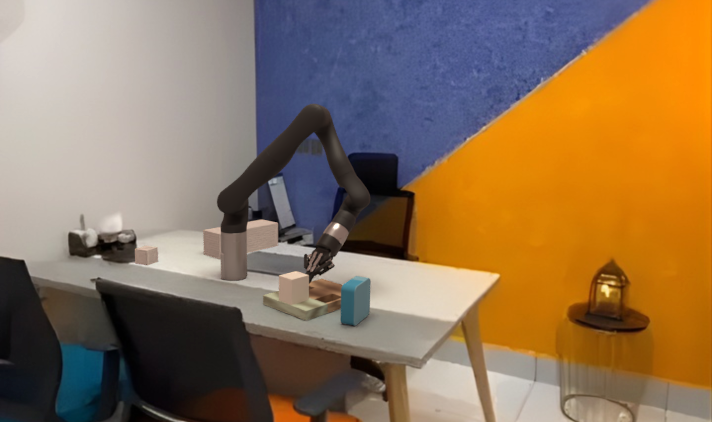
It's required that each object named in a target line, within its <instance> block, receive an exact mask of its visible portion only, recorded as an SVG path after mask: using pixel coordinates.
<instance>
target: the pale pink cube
mask: <svg viewBox="0 0 712 422" xmlns="http://www.w3.org/2000/svg"><path fill="white" fill-rule="evenodd" d="M134 258H135V259H134V262H135V264H136V265H143V266H150V265H153V264H156V263H158V262H159V249H158V246H152V245H151V246H150V245H144V246H140V247H137V248H135V249H134Z"/></svg>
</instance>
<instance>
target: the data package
mask: <svg viewBox="0 0 712 422" xmlns="http://www.w3.org/2000/svg"><path fill="white" fill-rule="evenodd" d="M371 282H372V281H371V278H370V277H367V276H365V277H364V276H359V275H355V276H354V277H353V278H351V279H350V280H347V281H346V282H345V283H343V284H341V285H342V288H341V309H340V323H341V324H344V325H349V326H355V327H356V326H357V325H359V323H361V322H362V321H363V320H365V318H366V317H368V316H369V314H370V309H371V307H370V306H371V285H372V284H371Z"/></svg>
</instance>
